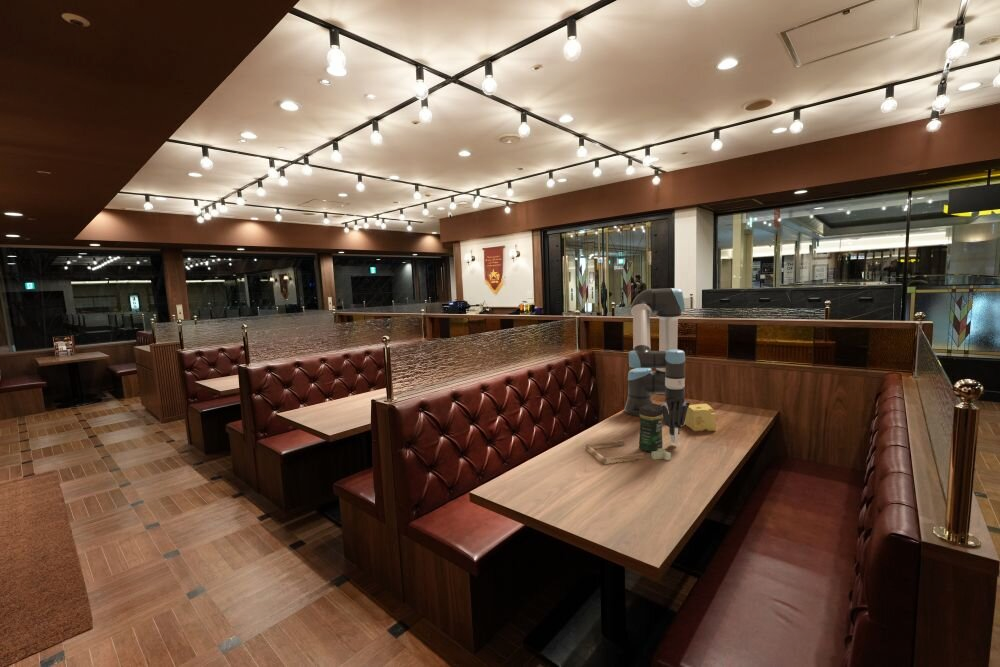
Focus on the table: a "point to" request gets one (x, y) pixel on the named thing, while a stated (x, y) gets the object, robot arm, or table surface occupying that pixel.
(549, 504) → the table surface
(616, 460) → the oak frame
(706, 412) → the cheese
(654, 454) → the sage T block
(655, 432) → the coffee jar
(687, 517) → the table surface
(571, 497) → the table surface
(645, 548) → the table surface
